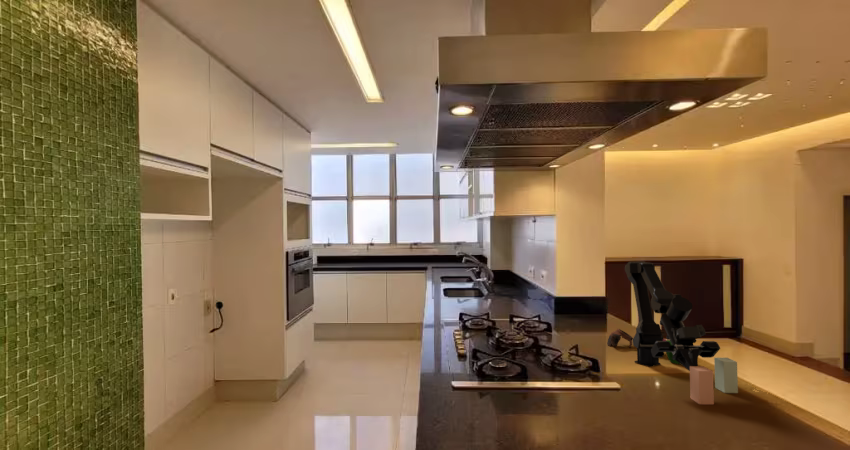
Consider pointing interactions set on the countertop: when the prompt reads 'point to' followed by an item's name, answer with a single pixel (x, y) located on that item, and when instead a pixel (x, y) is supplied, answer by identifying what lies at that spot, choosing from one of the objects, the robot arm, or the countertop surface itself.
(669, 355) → the bell pepper
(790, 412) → the countertop surface
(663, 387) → the countertop surface
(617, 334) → the headphones
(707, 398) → the terracotta block
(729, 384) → the sage block
